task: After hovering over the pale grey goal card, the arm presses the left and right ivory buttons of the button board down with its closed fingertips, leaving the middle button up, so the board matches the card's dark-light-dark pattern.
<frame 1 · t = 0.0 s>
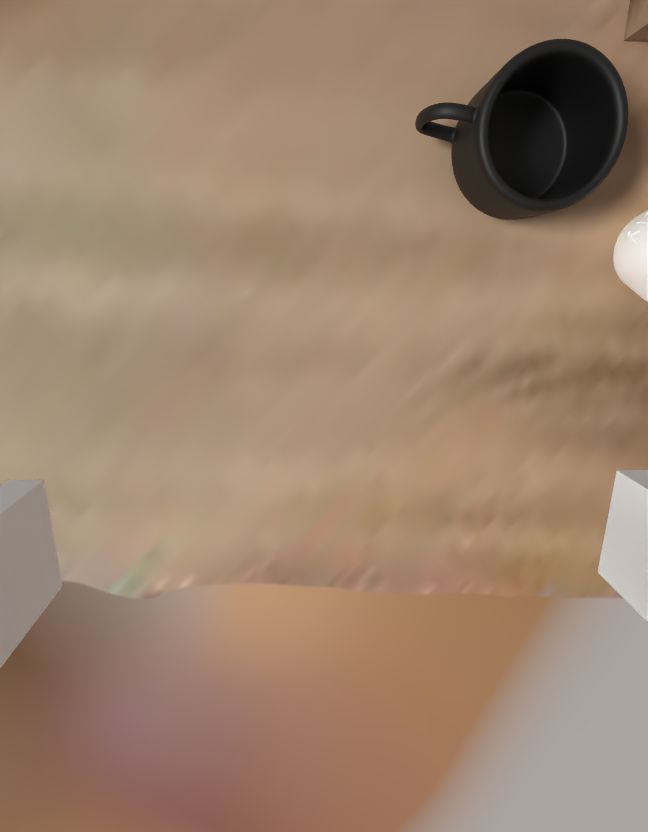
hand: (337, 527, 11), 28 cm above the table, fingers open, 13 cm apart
mug: (484, 152, 35), on the table
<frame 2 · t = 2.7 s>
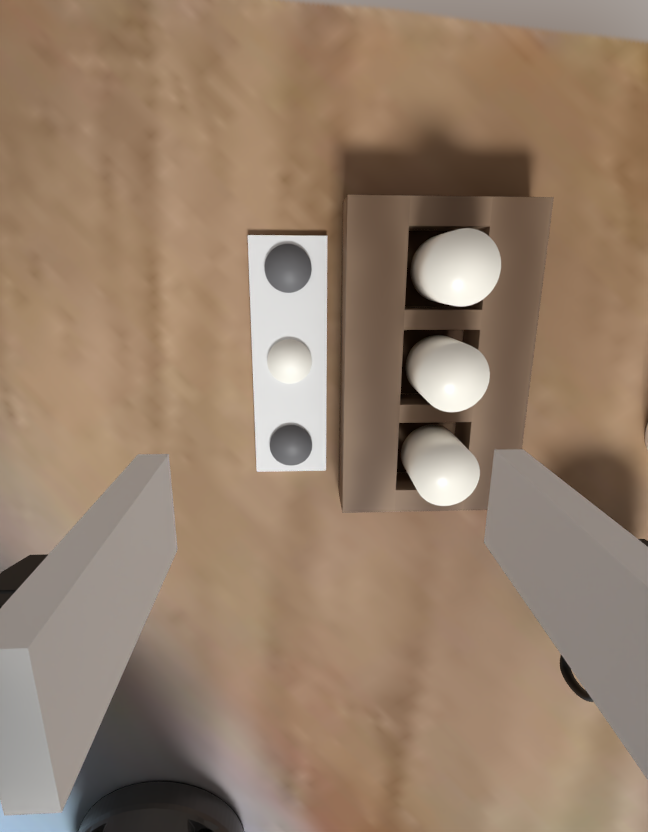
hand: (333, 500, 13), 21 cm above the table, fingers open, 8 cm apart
mug: (567, 588, 40), on the table
goal card: (289, 360, 33), on the table
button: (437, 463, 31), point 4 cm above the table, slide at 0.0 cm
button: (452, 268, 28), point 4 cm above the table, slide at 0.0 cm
board: (427, 359, 33), on the table
button middle: (444, 371, 29), point 4 cm above the table, slide at 0.0 cm
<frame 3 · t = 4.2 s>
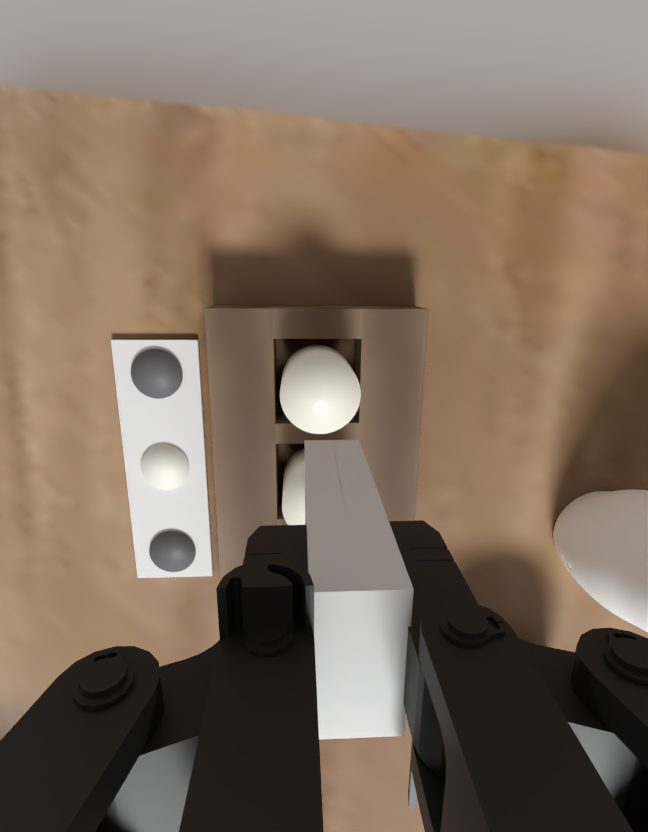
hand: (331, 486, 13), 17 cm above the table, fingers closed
figurine: (597, 524, 34), on the table
goal card: (166, 465, 31), on the table
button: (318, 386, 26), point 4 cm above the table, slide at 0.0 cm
board: (315, 463, 31), on the table
button middle: (318, 490, 27), point 4 cm above the table, slide at 0.0 cm
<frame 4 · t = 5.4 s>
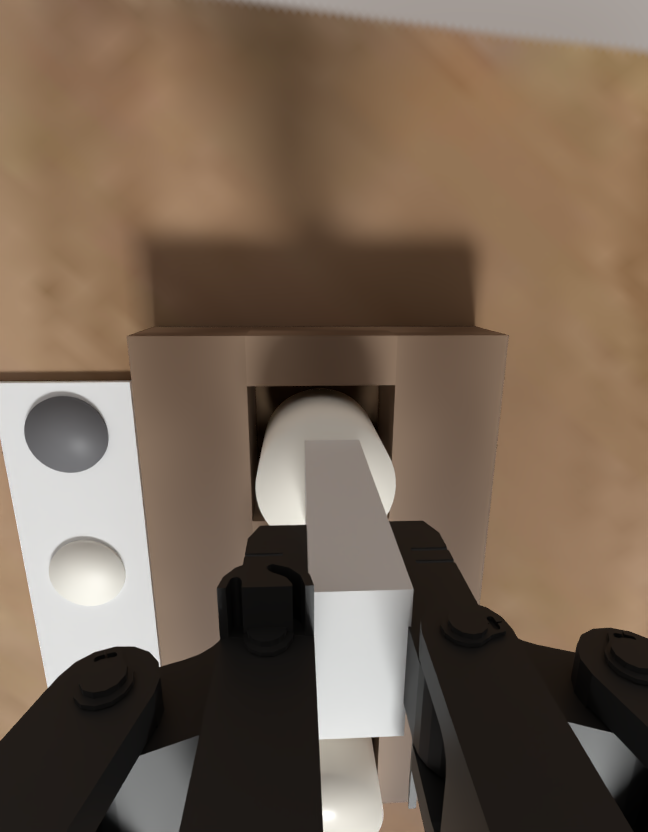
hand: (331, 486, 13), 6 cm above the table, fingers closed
goal card: (91, 568, 20), on the table
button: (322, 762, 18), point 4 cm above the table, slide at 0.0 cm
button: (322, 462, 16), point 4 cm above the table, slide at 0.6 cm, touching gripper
board: (317, 561, 21), on the table
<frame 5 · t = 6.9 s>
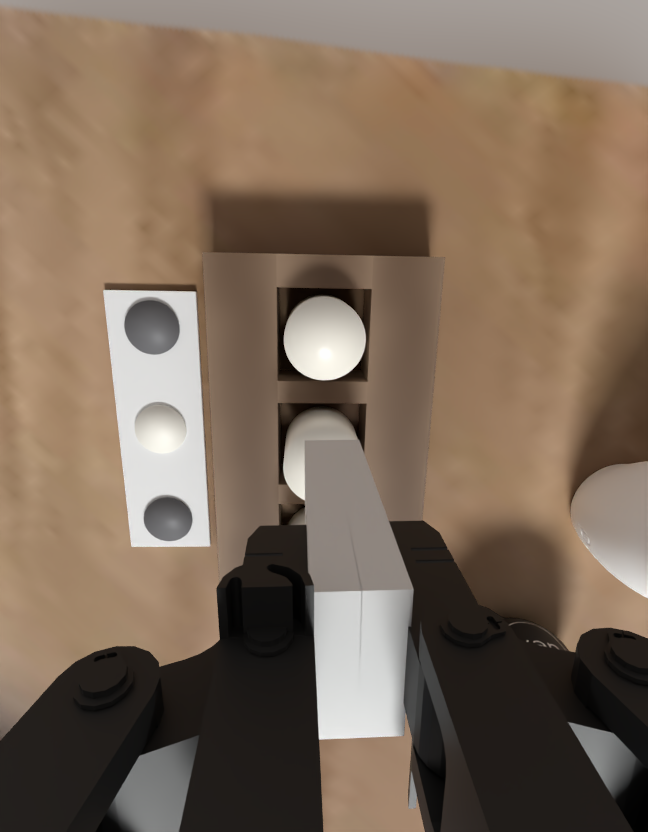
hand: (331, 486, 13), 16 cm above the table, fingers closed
mug: (489, 669, 36), on the table
figurine: (618, 499, 32), on the table
goal card: (162, 427, 29), on the table
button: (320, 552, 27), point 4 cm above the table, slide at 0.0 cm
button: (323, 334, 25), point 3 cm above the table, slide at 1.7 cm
board: (319, 428, 30), on the table
button middle: (322, 452, 26), point 4 cm above the table, slide at 0.0 cm
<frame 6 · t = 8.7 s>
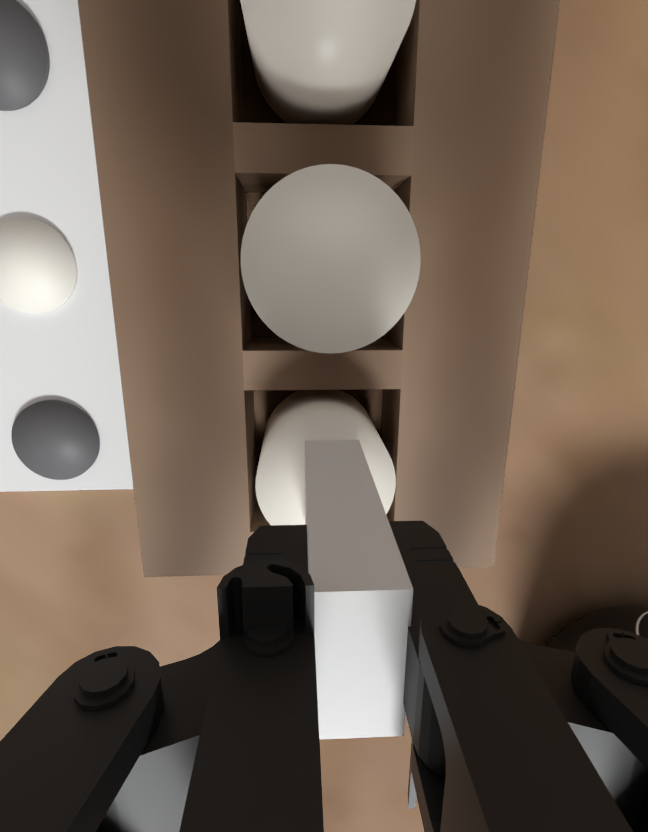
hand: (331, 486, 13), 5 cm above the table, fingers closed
mug: (592, 688, 23), on the table
goal card: (35, 266, 16), on the table
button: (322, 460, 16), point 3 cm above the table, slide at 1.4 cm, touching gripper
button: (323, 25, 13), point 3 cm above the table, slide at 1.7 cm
board: (318, 268, 17), on the table
button middle: (326, 265, 13), point 4 cm above the table, slide at 0.0 cm
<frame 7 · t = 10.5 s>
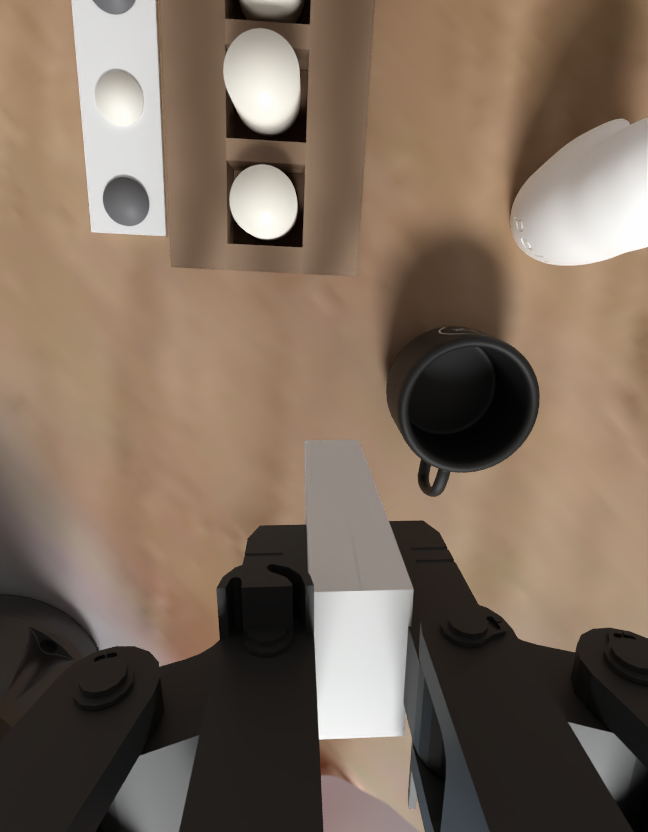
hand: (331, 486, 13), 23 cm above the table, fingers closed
mug: (434, 400, 38), on the table
figurine: (556, 211, 34), on the table
goal card: (121, 101, 31), on the table
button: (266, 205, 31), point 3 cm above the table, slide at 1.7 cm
board: (270, 110, 31), on the table
button middle: (264, 87, 27), point 4 cm above the table, slide at 0.0 cm
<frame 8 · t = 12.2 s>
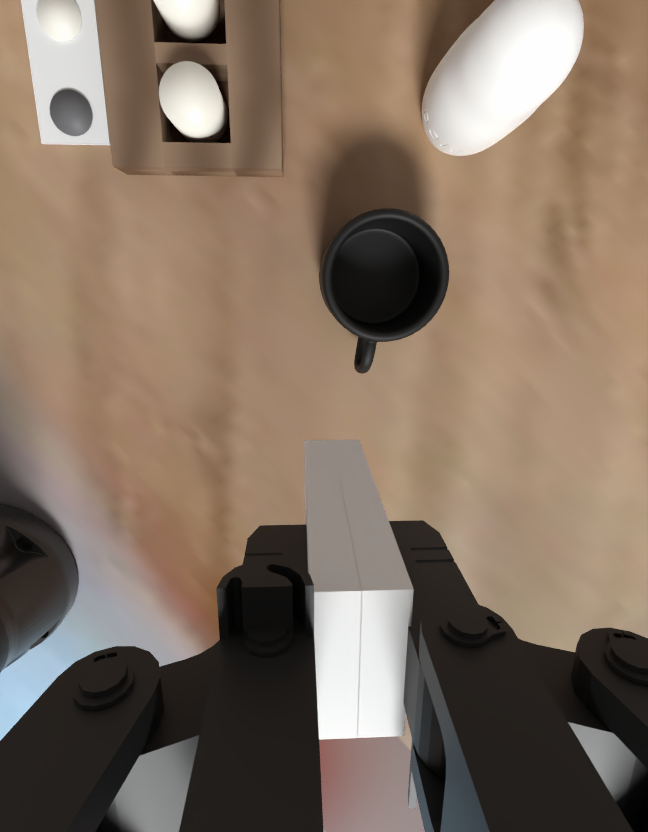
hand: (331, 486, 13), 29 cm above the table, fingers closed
mug: (367, 295, 41), on the table
figurine: (463, 109, 37), on the table
goal card: (61, 18, 34), on the table
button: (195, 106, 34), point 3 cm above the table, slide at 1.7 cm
board: (196, 23, 35), on the table
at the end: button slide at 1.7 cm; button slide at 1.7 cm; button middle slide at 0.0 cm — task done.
